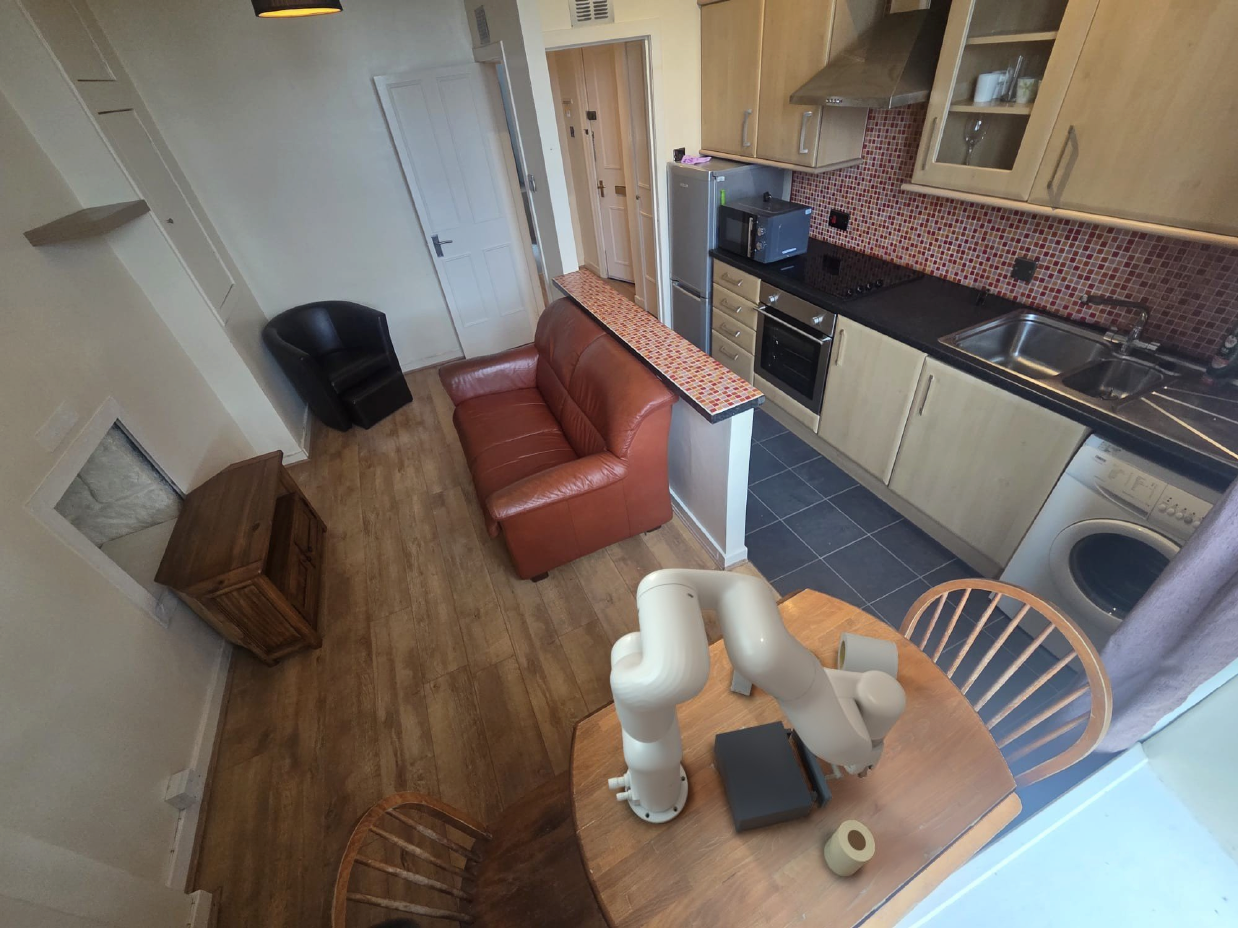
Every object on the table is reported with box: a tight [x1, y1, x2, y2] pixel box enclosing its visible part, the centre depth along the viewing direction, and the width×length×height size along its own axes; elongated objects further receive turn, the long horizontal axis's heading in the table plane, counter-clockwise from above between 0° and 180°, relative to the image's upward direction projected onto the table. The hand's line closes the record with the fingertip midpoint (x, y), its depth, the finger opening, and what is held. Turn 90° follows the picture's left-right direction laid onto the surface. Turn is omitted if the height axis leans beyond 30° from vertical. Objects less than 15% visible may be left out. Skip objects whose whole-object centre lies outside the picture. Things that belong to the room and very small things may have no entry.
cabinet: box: [713, 720, 815, 833], centre depth 99 cm, size 14×15×9 cm
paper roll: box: [823, 819, 876, 877], centre depth 88 cm, size 6×6×12 cm
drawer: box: [784, 727, 845, 810], centre depth 99 cm, size 17×13×7 cm
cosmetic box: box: [730, 669, 753, 696], centre depth 113 cm, size 6×4×12 cm
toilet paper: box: [837, 631, 899, 680], centre depth 113 cm, size 10×10×10 cm
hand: (841, 757), depth 100 cm, fingers closed
